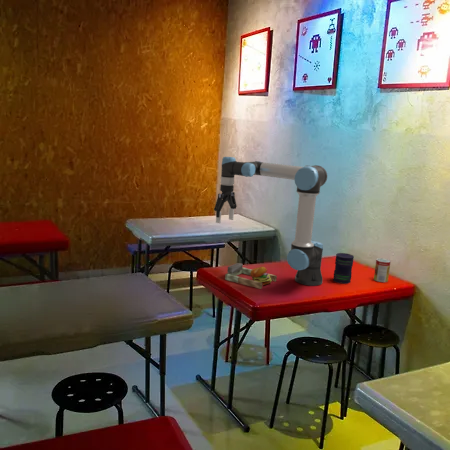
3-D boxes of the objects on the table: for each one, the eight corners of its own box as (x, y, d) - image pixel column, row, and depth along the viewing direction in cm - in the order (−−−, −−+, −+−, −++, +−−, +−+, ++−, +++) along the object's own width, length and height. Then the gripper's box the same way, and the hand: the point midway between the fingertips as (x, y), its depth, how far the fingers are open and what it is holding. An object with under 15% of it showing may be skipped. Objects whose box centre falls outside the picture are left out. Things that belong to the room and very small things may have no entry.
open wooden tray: (276, 280, 273) (277, 270, 272) (260, 288, 258) (261, 277, 257) (240, 271, 285) (241, 261, 284) (223, 279, 270) (224, 268, 269)
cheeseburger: (272, 286, 263) (269, 268, 261) (252, 289, 264) (249, 272, 262) (271, 280, 273) (268, 262, 271) (252, 283, 274) (249, 266, 271)
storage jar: (346, 284, 274) (349, 258, 271) (330, 280, 280) (333, 255, 277) (353, 281, 282) (356, 255, 279) (337, 276, 288) (340, 252, 285)
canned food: (386, 278, 291) (388, 258, 288) (389, 282, 283) (392, 262, 281) (372, 277, 291) (375, 257, 289) (375, 281, 284) (377, 261, 281)
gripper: (233, 182, 292) (230, 217, 296) (209, 185, 271) (206, 223, 276) (244, 183, 288) (241, 219, 293) (220, 186, 267) (218, 225, 272)
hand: (224, 221), depth 284 cm, fingers open, 13 cm apart
